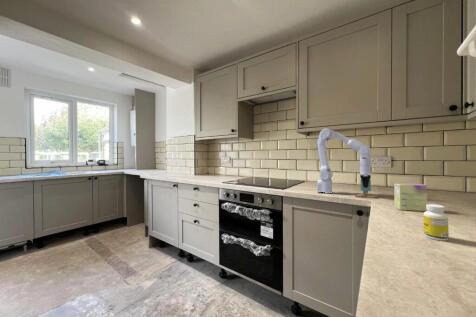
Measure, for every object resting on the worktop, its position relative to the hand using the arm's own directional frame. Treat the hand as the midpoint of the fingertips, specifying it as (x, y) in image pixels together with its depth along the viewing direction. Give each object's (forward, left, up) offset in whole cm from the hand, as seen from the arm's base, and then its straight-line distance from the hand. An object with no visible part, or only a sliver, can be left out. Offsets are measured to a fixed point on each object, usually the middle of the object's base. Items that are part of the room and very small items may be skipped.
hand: (365, 186), depth 126 cm
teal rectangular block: (0, 0, -2) cm, 2 cm away
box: (+17, -27, -6) cm, 32 cm away
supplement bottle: (+17, -65, -6) cm, 67 cm away
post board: (0, 0, -6) cm, 6 cm away
